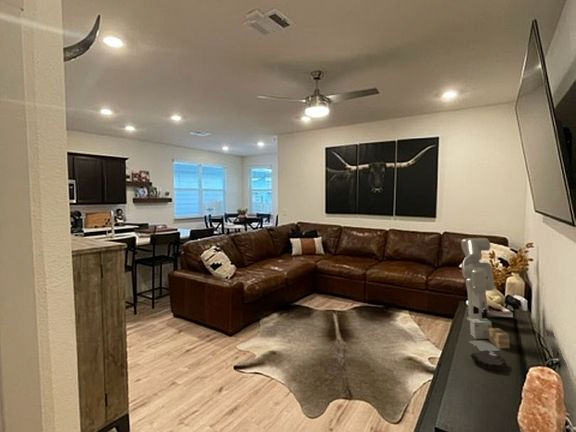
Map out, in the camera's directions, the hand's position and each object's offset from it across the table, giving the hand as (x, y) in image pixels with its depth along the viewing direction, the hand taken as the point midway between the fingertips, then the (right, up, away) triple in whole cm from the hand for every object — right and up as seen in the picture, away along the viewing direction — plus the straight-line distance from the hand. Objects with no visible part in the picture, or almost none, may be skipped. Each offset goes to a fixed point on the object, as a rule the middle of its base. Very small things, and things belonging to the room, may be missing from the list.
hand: (480, 316), depth 205 cm
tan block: (+5, -14, -11) cm, 18 cm away
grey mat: (-5, -14, -12) cm, 19 cm away
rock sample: (-15, -16, -32) cm, 39 cm away
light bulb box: (+1, -14, +1) cm, 14 cm away
